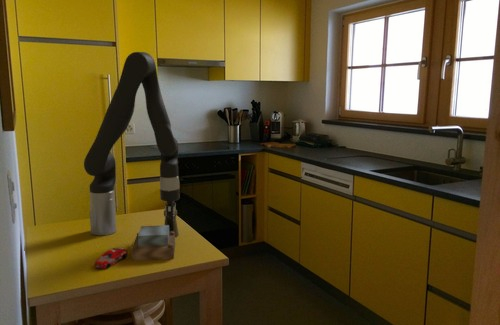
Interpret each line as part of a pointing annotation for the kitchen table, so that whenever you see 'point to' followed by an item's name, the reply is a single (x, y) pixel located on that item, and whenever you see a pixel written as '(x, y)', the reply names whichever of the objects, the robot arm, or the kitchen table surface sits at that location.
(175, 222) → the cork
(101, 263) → the race car
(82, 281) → the kitchen table surface
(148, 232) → the knobbed square tray
